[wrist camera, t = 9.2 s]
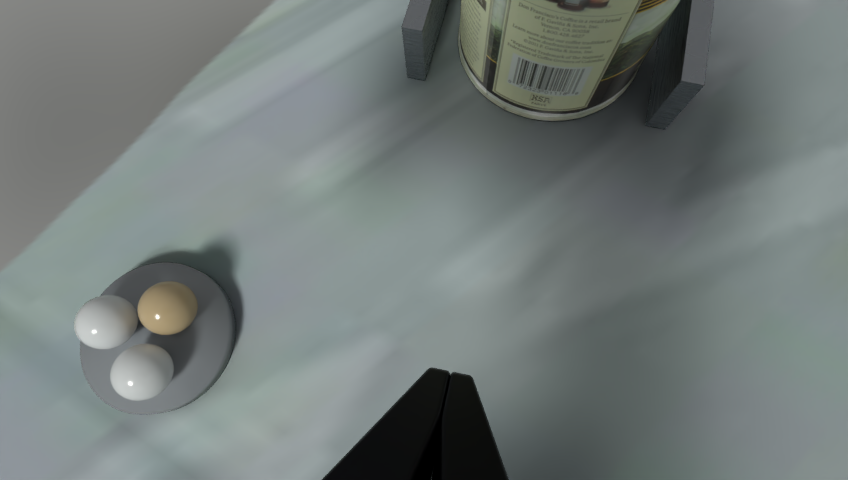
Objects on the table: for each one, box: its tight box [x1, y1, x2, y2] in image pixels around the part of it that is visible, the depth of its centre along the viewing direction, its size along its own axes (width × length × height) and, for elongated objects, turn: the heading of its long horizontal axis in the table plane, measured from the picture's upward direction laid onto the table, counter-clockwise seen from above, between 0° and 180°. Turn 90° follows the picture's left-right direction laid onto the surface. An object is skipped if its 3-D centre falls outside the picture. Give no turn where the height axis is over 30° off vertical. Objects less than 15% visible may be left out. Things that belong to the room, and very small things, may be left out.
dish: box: [74, 262, 236, 415], centre depth 22 cm, size 7×7×3 cm
